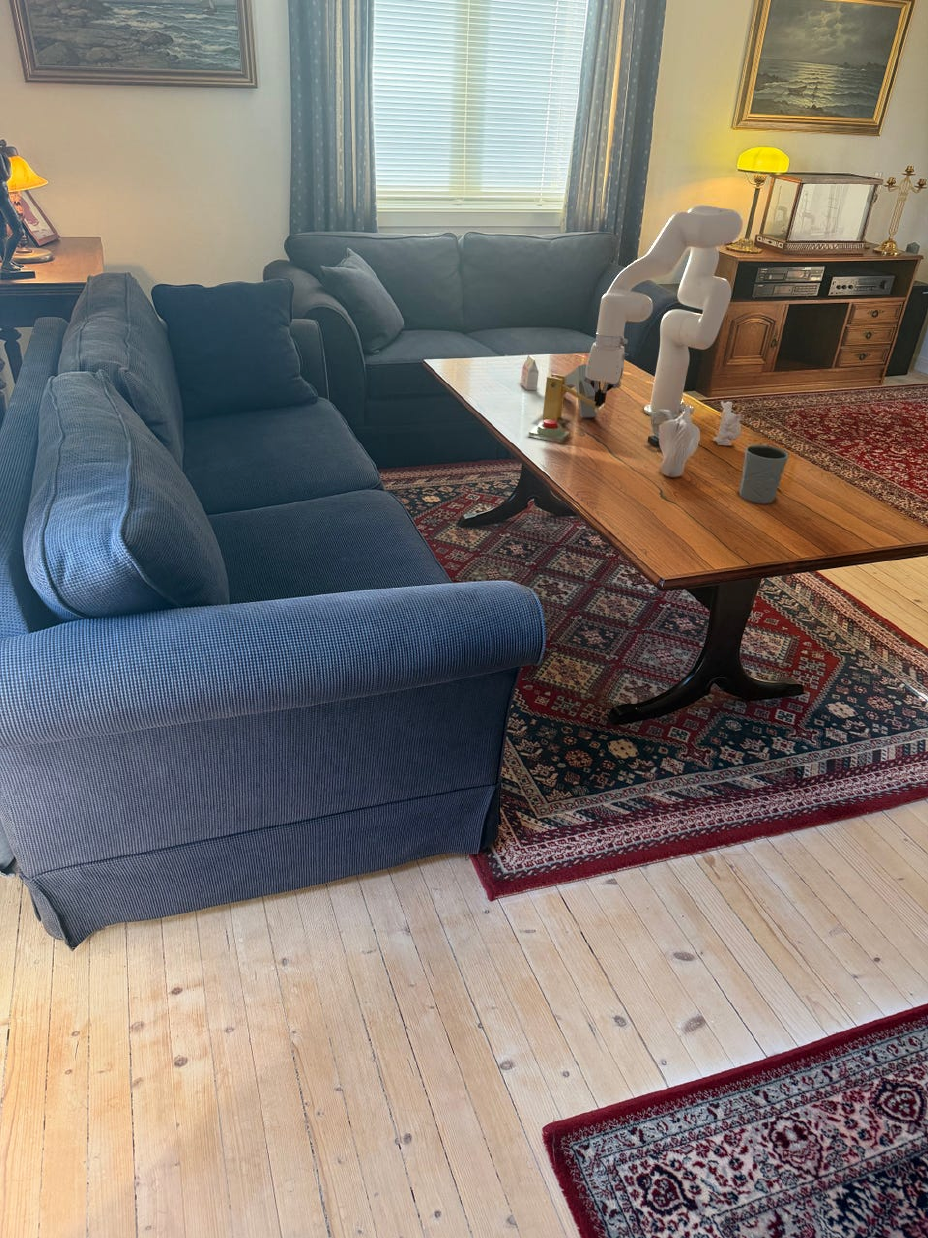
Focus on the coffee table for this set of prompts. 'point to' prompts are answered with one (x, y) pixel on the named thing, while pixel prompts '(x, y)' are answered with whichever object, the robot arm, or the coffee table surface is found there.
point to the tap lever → (581, 397)
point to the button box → (549, 433)
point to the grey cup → (762, 473)
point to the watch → (656, 421)
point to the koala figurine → (728, 426)
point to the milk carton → (529, 374)
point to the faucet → (582, 391)
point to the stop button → (550, 424)
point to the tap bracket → (554, 397)
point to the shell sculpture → (678, 443)
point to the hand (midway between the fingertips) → (599, 404)
